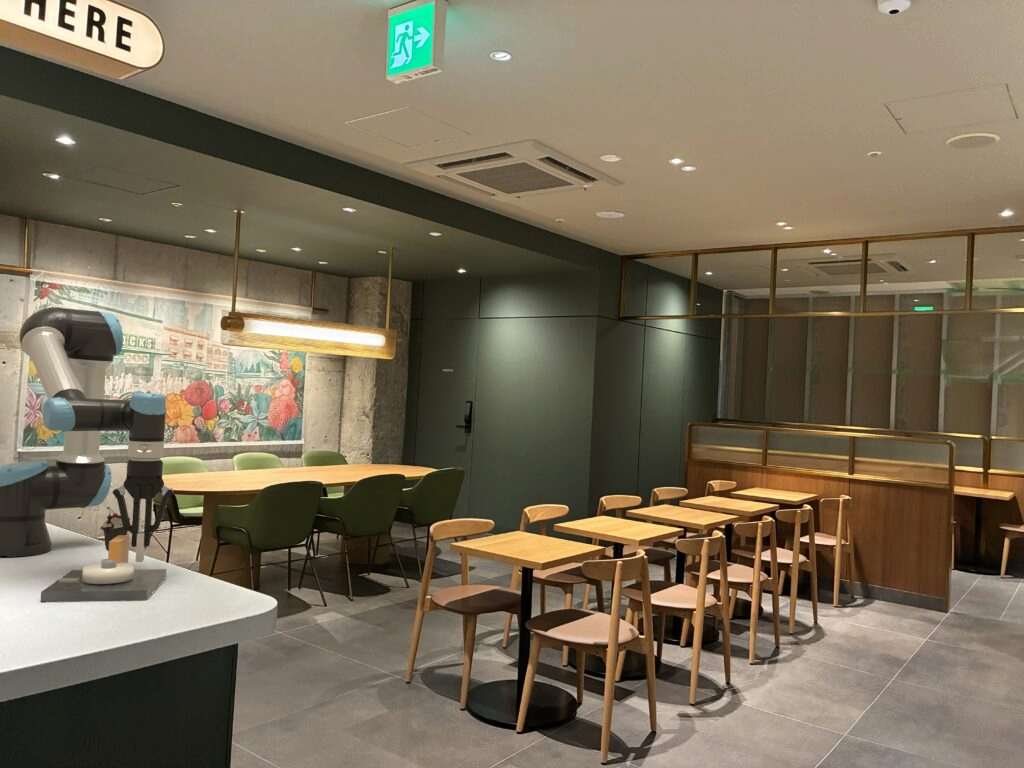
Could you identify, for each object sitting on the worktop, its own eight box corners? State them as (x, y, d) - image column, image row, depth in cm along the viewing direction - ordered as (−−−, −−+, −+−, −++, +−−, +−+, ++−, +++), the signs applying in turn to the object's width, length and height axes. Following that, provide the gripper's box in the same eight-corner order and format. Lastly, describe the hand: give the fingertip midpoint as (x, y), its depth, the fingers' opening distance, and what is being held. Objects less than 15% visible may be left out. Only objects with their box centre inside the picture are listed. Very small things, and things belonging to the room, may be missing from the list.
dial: (127, 583, 165) (129, 549, 166) (75, 584, 163) (77, 549, 163) (145, 566, 182) (147, 535, 182) (98, 566, 180) (100, 535, 180)
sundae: (91, 569, 186) (95, 507, 187) (113, 563, 193) (116, 503, 193) (113, 572, 184) (116, 509, 185) (134, 566, 191) (138, 506, 191)
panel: (71, 578, 176) (72, 568, 176) (165, 577, 181) (166, 568, 181) (40, 601, 157) (41, 590, 157) (146, 600, 162) (147, 589, 162)
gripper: (111, 460, 174) (105, 564, 173) (174, 461, 178) (168, 563, 178) (116, 457, 181) (111, 557, 181) (176, 458, 185) (171, 556, 185)
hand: (139, 560), depth 179 cm, fingers closed
